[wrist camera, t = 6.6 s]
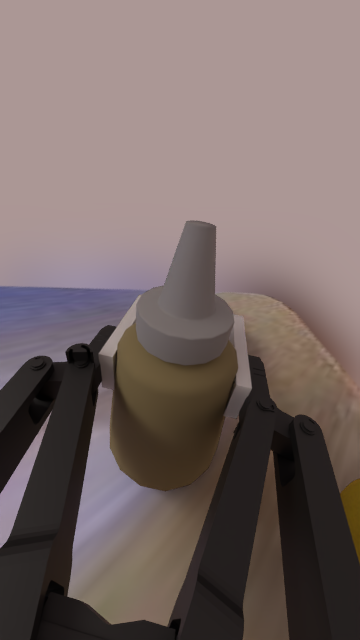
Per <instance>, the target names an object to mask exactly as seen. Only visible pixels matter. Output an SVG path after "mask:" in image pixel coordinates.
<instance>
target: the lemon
mask: <svg viewBox="0 0 360 640" xmlns="http://www.w3.org/2000/svg"><path fill="white" fill-rule="evenodd" d="M340 496H341V500H342V503H343V507H344V510H345V514H346V517H347V521H348V525H349V528H350V532H351V535H352V539H353V542H354V546H355V549H356V553H357V556H358V560H359V563H360V479H357V480H355V481H353V482H351V483H350V484H349V485H348V486H347V487H346V488H345V489H344V490H343V491H342V492H341V494H340Z"/></svg>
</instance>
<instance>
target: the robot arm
mask: <svg viewBox="0 0 360 640" xmlns="http://www.w3.org/2000/svg"><path fill="white" fill-rule="evenodd" d="M140 297H141V295H139V296H138V297H137V299H136V300H135V302H134V303H133V305H132V306H131V307H130V309H129V310H128V312H127V313H126V315H125V316H124V318H123V319H122V320H121V322H120V323H119V325H118V326H117V327H115V326H110V325H107V326H106V327H104V328H102V329H101V330H100V331H99V333H98V334H97V335H96V337H95V338H94V339H93V340H92V342H91V343H90V344H89V345H88V344H83V343H81V344H75V345H73V346H71V347H69V348H68V349H67V351H66V357H67V361H68V362H52V359H51V358H50V357H47V356H37V357H34V358H31V359H29V360H28V361H27V362H26V363H25V364H24V365H23V366H22V367H21V368H20V369H19V370H18V371H17V373H16V374H15V375H14V376H13V377H12V378H11V379H10V380H9V381H8V382H7V384H6V385H5V386H4V387H3V388H2V389H1V390H0V493H1V492H2V490H3V489H4V487H5V485H6V484H7V482H8V480H9V479H10V477H11V476H12V474H13V472H14V471H15V469H16V468H17V466H18V464H19V463H20V461H21V459H22V458H23V456H24V455H25V453H26V451H27V450H28V448H29V447H30V445H31V443H32V442H33V440H34V438H35V437H36V435H37V434H38V432H39V430H40V429H41V427H42V426H43V424H44V422H45V421H46V419H47V417H48V416H49V414H50V413H51V411H52V413H51V416H50V419H49V422H48V425H47V428H46V430H45V433H44V436H43V439H42V442H41V445H40V448H39V451H38V454H37V457H36V460H35V463H34V466H33V469H32V472H31V475H30V478H29V481H28V484H27V487H26V490H25V493H24V496H23V499H22V502H21V505H20V508H19V511H18V514H17V517H16V520H15V523H14V526H13V529H12V531H11V534H10V536H9V538H8V540H7V542H6V543H5V544H4V545H3V546H2V547H1V548H0V640H242V639H243V631H244V617H243V598H244V592H245V587H246V581H247V576H248V570H249V565H250V559H251V554H252V548H253V543H254V537H255V532H256V526H257V521H258V515H259V509H260V504H261V498H262V493H263V487H264V482H265V476H266V471H267V465H268V460H269V454H270V449H271V450H273V456H274V468H275V479H276V491H277V502H278V514H279V525H280V536H281V548H282V559H283V571H284V582H285V594H286V605H287V617H288V628H289V640H360V563H359V560H358V556H357V553H356V549H355V546H354V542H353V539H352V535H351V532H350V528H349V525H348V521H347V517H346V514H345V510H344V507H343V503H342V500H341V496H340V493H339V489H338V486H337V482H336V479H335V475H334V472H333V468H332V465H331V461H330V458H329V454H328V451H327V447H326V444H325V440H324V436H323V433H322V430H321V428H320V426H319V425H318V424H317V423H316V422H315V421H314V420H313V419H311V418H310V417H308V416H306V415H297V416H295V418H294V417H292V416H290V415H288V414H286V413H284V412H282V411H281V410H279V409H278V408H277V406H276V404H275V402H274V401H273V400H272V399H271V398H270V395H269V389H268V384H267V379H266V374H265V369H264V364H263V362H262V361H261V359H260V358H259V357H255V356H250V355H248V352H247V343H246V335H245V327H244V318H243V316H240V315H235V314H233V315H234V325H233V328H232V331H231V334H230V337H229V340H230V342H231V343H232V345H233V346H234V348H235V349H236V352H237V361H238V371H237V373H236V376H235V379H234V382H233V386H232V389H231V392H230V395H229V399H228V402H227V405H226V408H225V411H224V415H223V416H226V417H231V418H235V419H236V418H237V416H238V414H239V423H238V425H237V427H236V428H235V430H234V432H233V433H234V436H233V439H232V442H231V445H230V448H229V451H228V454H227V457H226V460H225V463H224V466H223V469H222V472H221V475H220V478H219V481H218V484H217V486H216V489H215V492H214V495H213V498H212V501H211V504H210V507H209V510H208V513H207V516H206V519H205V522H204V525H203V528H202V531H201V534H200V537H199V540H198V543H197V546H196V549H195V552H194V555H193V558H192V561H191V563H190V566H189V569H188V572H187V575H186V578H185V581H184V583H183V586H182V588H181V590H180V593H179V595H178V598H177V600H176V603H175V606H174V609H173V612H172V615H171V618H170V621H169V624H168V626H167V627H166V626H162V625H159V624H156V623H152V622H149V621H146V620H140V621H134V622H127V623H120V624H114V625H112V624H110V623H109V622H108V621H106V620H105V619H104V618H103V617H102V616H101V615H100V614H99V613H97V612H96V611H95V610H94V609H93V608H92V607H91V606H90V605H88V604H86V603H84V602H82V601H80V600H76V599H73V598H70V597H67V594H68V588H69V582H70V575H71V568H72V549H73V541H74V535H75V529H76V523H77V517H78V511H79V505H80V499H81V493H82V487H83V481H84V475H85V469H86V463H87V457H88V451H89V445H90V439H91V433H92V427H93V421H94V415H95V409H96V403H97V397H98V387H99V385H100V383H101V381H102V387H104V388H108V389H112V390H114V388H115V374H116V360H117V345H118V342H119V341H120V339H121V337H122V335H123V334H124V332H125V330H126V329H127V328H129V327H130V326H131V325H133V324H134V323H136V304H137V302H138V300H139V299H140ZM52 409H53V410H52Z"/></svg>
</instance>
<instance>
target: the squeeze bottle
mask: <svg viewBox="0 0 360 640" xmlns="http://www.w3.org/2000/svg"><path fill="white" fill-rule="evenodd" d="M215 258H216V226H215V225H213V224H210V223H206V222H201V221H186V223H185V226H184V229H183V232H182V235H181V238H180V241H179V244H178V246H177V249H176V252H175V255H174V258H173V261H172V264H171V266H170V269H169V273H168V275H167V278H166V281H165V284H164V286H160V287H155V288H152V289H151V290H149V291H147V292H145V293H144V294H142V295H141V297H140V299H139V300H138V302H137V304H136V323H134V324H133V325H131V326H130V327H129V328H127V329H126V330H125V332H124V334H123V335H122V337H121V339H120V341H119V342H118V345H117V360H116V374H115V388H114V390H113V398H112V408H111V418H110V449H111V451H112V453H113V455H114V457H115V459H116V462H117V464H118V466H119V468H120V470H121V471H123V472H124V473H125V474H126V475H128V476H129V477H130V478H131V479H132V480H134V481H135V482H136V483H137V484H139V485H140V486H144V487H148V488H153V489H158V490H162V491H168V490H172V489H175V488H179V487H183V486H187V485H190V484H191V483H192V482H194V481H195V480H196V479H197V478H198V477H199V476H200V475H201V474H202V473H204V472H205V471H206V470H207V469H208V468H209V465H210V463H211V461H212V458H213V456H214V454H215V451H216V449H217V446H218V442H219V438H220V435H221V431H222V427H223V423H224V420H225V416H223V415H224V411H225V408H226V405H227V402H228V399H229V395H230V392H231V389H232V386H233V382H234V379H235V376H236V373H237V371H238V361H237V352H236V349H235V348H234V346H233V345H232V343H231V342H230V340H229V337H230V334H231V331H232V328H233V325H234V315H233V311H232V309H231V308H230V307H229V306H228V304H227V303H226V302H225V301H224V300H223V299H221V298H220V297H218V296H217V295H215Z"/></svg>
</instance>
